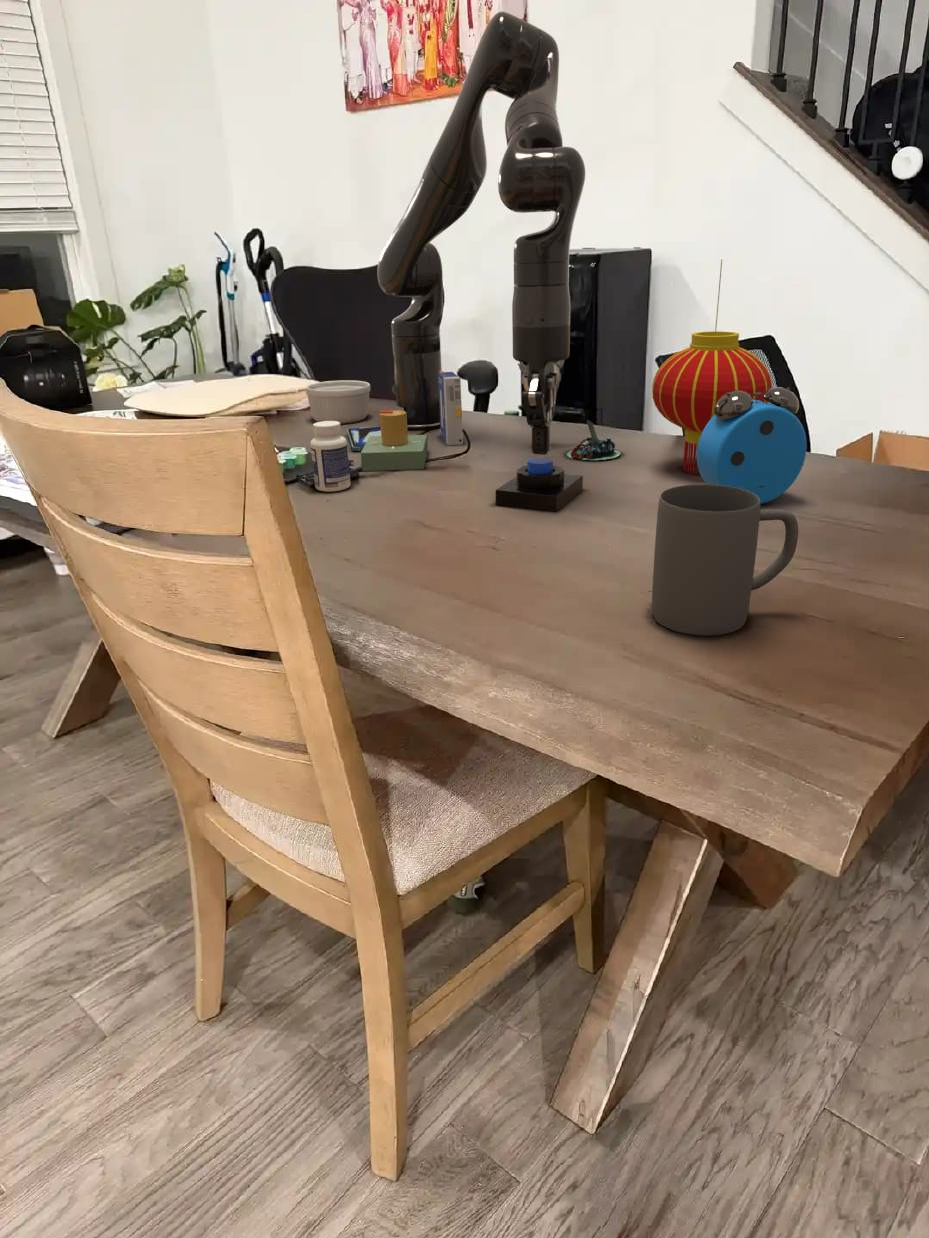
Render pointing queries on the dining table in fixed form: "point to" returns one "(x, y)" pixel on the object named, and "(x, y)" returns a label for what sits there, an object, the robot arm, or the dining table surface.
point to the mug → (711, 557)
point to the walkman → (450, 408)
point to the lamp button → (540, 466)
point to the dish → (594, 447)
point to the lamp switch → (539, 490)
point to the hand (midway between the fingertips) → (540, 453)
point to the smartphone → (362, 436)
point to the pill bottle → (330, 457)
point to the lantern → (705, 382)
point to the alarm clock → (753, 443)
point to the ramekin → (339, 400)
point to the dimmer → (394, 454)
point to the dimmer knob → (393, 428)
